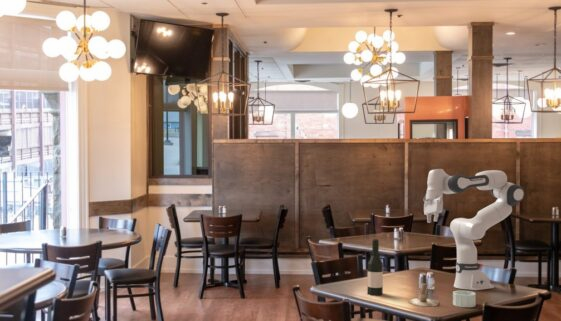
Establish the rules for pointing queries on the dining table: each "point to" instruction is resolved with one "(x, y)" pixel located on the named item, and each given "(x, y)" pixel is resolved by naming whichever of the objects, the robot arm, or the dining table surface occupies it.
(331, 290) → the dining table surface
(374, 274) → the wine bottle
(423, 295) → the lid
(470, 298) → the bowl
